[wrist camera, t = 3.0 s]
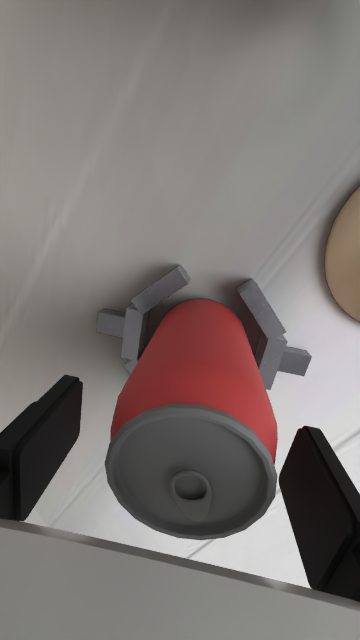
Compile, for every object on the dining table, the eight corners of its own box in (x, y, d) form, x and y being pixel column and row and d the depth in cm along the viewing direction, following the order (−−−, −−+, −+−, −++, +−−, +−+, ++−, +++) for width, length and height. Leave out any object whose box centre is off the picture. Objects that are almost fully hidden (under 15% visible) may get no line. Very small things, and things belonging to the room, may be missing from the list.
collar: (328, 293, 17) (343, 300, 15) (281, 415, 21) (288, 433, 19) (107, 250, 18) (96, 252, 16) (97, 375, 21) (87, 388, 20)
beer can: (167, 380, 21) (117, 551, 10) (150, 303, 19) (61, 405, 8) (249, 371, 20) (300, 552, 9) (239, 289, 18) (289, 383, 7)
